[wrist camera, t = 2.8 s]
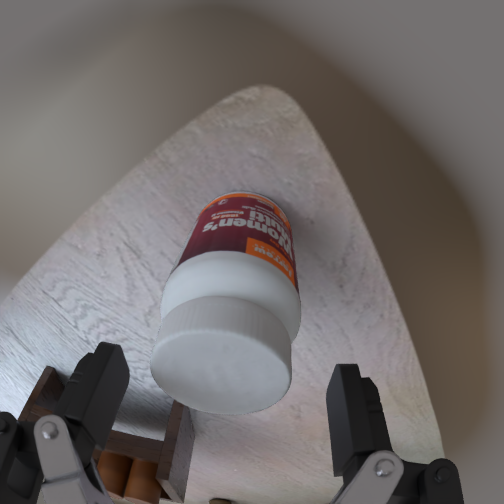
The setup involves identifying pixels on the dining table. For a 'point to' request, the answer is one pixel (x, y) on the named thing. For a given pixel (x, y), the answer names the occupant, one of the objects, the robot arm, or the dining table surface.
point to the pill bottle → (230, 309)
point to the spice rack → (130, 450)
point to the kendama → (219, 501)
